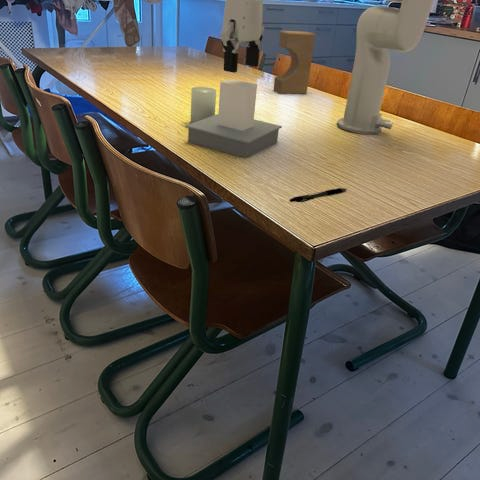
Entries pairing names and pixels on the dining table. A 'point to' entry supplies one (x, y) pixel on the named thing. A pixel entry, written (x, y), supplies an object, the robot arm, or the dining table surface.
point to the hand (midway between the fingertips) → (241, 68)
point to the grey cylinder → (202, 103)
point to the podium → (233, 136)
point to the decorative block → (296, 62)
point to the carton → (237, 104)
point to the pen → (317, 195)
